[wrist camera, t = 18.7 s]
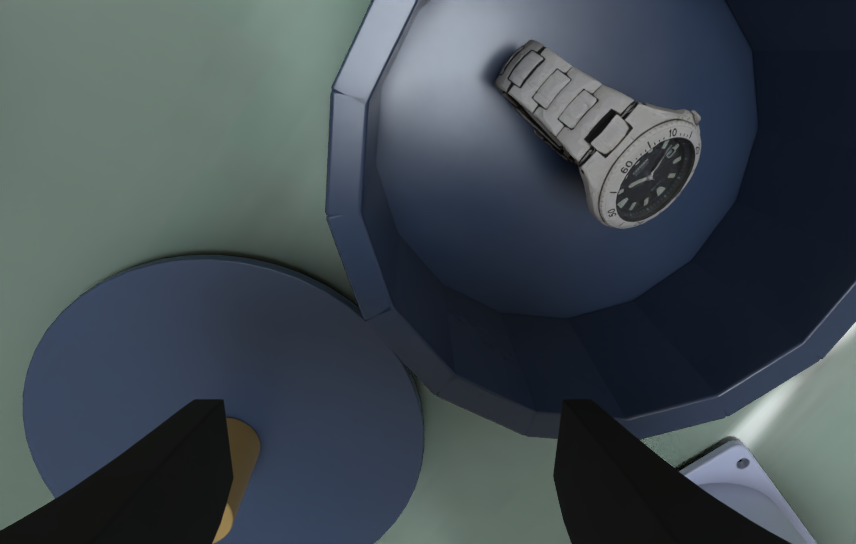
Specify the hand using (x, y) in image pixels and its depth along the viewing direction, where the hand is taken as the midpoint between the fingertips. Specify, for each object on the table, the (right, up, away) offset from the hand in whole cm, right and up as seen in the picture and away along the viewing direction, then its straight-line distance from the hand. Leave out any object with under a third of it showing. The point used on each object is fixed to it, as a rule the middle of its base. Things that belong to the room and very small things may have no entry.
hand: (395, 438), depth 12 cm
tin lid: (-7, -3, +9) cm, 12 cm away
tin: (+5, +8, +7) cm, 11 cm away
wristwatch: (+5, +8, +6) cm, 12 cm away
